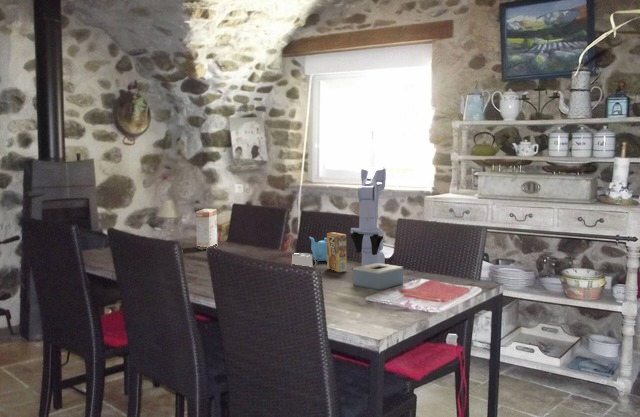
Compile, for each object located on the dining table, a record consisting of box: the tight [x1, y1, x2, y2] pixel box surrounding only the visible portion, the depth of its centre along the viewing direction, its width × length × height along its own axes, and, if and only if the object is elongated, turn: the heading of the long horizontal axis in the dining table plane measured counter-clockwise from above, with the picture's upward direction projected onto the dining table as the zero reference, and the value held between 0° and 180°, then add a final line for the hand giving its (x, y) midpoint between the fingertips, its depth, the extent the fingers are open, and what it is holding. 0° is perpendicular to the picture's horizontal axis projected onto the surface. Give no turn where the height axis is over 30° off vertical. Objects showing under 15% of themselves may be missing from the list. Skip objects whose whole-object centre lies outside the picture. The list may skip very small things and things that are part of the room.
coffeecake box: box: [195, 208, 218, 248], centre depth 313 cm, size 15×7×20 cm, turn 174°
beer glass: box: [291, 252, 313, 267], centre depth 203 cm, size 7×7×15 cm
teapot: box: [308, 236, 327, 263], centre depth 277 cm, size 15×15×10 cm
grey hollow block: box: [352, 263, 404, 291], centre depth 226 cm, size 14×12×6 cm
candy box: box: [326, 231, 348, 273], centre depth 254 cm, size 9×4×15 cm, turn 33°
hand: (366, 253), depth 233 cm, fingers open, 7 cm apart
